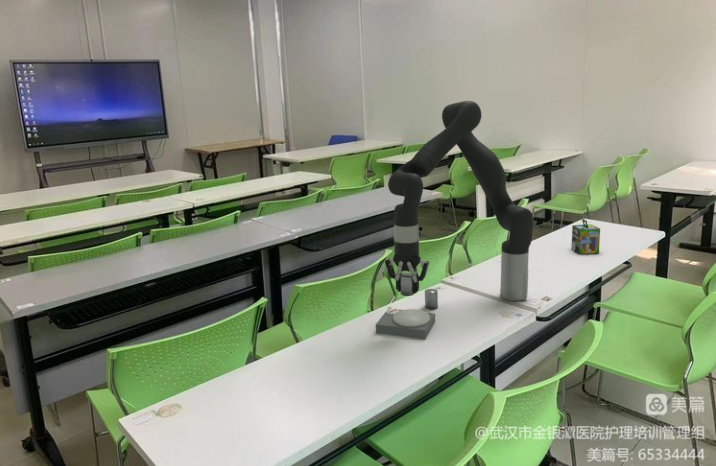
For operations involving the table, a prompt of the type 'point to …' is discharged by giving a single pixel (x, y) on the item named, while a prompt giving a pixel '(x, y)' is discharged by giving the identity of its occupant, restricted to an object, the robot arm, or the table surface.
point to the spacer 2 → (431, 299)
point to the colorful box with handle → (585, 238)
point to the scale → (406, 323)
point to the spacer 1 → (406, 284)
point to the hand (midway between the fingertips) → (407, 291)
